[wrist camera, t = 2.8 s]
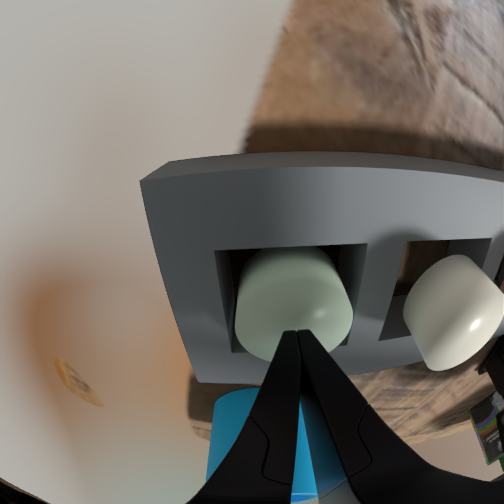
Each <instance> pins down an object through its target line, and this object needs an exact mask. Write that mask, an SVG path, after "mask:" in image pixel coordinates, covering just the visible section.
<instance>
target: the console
mask: <svg viewBox="0 0 504 504" xmlns="http://www.w3.org/2000/svg"><path fill="white" fill-rule="evenodd" d="M140 186H141V191H142V196H143V201H144V206H145V210H146V215H147V219H148V223H149V228H150V232H151V236H152V240H153V244H154V248H155V252H156V256H157V260H158V264H159V267H160V271H161V274H162V278H163V281H164V285H165V288H166V291H167V295H168V298H169V301H170V304H171V307H172V311H173V314H174V317H175V320H176V323H177V326H178V329H179V332H180V335H181V337H182V340H183V343H184V346H185V349H186V352H187V354H188V357H189V360H190V362H191V365H192V368H193V370H194V373H195V375H196V378H197V380H198V382H200V383H262V382H263V380H264V377H265V375H266V373H267V370H268V368H269V365H270V363H271V362H270V361H266V360H263V359H260V358H258V357H256V356H254V355H253V354H251V353H250V352H248V351H247V350H246V349H245V348H244V347H243V346H242V345H241V343H240V342H239V340H238V338H237V336H236V332H235V318H236V304H235V296H234V289H233V281H232V273H231V266H230V258H229V250H232V249H253V248H273V247H294V246H315V245H337V244H340V254H339V263H338V275H339V277H340V279H341V282H342V284H343V287H344V289H345V291H346V294H347V296H348V299H349V301H350V304H351V306H352V311H353V321H352V325H351V328H350V330H349V332H348V334H347V336H346V337H345V339H344V340H343V341H342V342H341V343H340V344H339V345H338V346H337V347H336V348H334V349H333V350H331V351H330V352H328V353H329V354H330V355H331V357H332V358H333V359H334V360H335V362H336V363H337V364H338V365H339V367H340V368H341V369H342V370H343V372H344V373H345V374H346V375H347V376H349V375H356V374H362V373H368V372H374V371H379V370H385V369H390V368H394V367H399V366H404V365H408V364H412V363H416V362H420V361H424V359H423V357H422V355H421V353H420V351H419V348H418V346H417V344H416V342H415V340H414V338H413V337H412V335H411V333H410V331H409V329H408V327H407V325H406V323H405V321H404V317H403V309H404V304H405V301H406V298H407V296H408V294H407V295H399V296H393V292H394V289H395V285H396V281H397V277H398V273H399V269H400V265H401V261H402V256H403V252H404V247H405V242H406V241H428V240H450V241H449V245H448V249H447V253H446V256H445V258H446V257H448V256H452V255H465V256H467V257H469V258H470V259H471V260H472V261H473V262H474V263H475V264H476V265H477V266H478V267H479V268H480V269H481V270H482V271H483V272H484V273H485V274H486V275H487V276H488V277H489V278H490V279H491V281H492V282H493V283H494V284H495V285H496V286H497V287H498V288H499V289H500V287H501V284H502V282H503V280H504V263H503V266H502V268H501V271H500V274H499V276H498V279H497V280H494V279H495V276H496V274H497V271H498V268H499V266H500V263H501V260H502V257H503V254H504V172H503V171H499V170H494V169H490V168H485V167H480V166H475V165H470V164H464V163H458V162H452V161H446V160H439V159H431V158H423V157H415V156H405V155H394V154H381V153H365V152H339V151H289V152H263V153H246V154H233V155H221V156H210V157H202V158H193V159H185V160H177V161H171V162H168V163H166V164H165V165H163V166H161V167H160V168H158V169H157V170H155V171H154V172H152V173H151V174H149V175H148V176H146V177H145V178H143V179H142V180H140ZM503 334H504V316H503V318H502V321H501V323H500V324H499V326H498V328H497V330H496V331H495V333H494V334H493V335H492V337H491V338H490V339H493V338H495V337H498V336H500V335H503ZM490 339H489V340H490Z"/></svg>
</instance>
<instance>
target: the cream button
mask: <svg viewBox="0 0 504 504" xmlns="http://www.w3.org/2000/svg"><path fill="white" fill-rule="evenodd" d="M503 316H504V294H503V293H502V292H501V291H500V289H499V288H498V287H497V286H496V285H495V284H494V283H493V282H492V281H491V279H490V278H489V277H488V276H487V275H486V274H485V273H484V272H483V271H482V270H481V269H480V268H479V267H478V266H477V265H476V264H475V263H474V262H473V261H472V260H471V259H470V258H469V257H467V256H465V255H452V256H448V257H446V258H444V259H441V260H440V261H438V262H436V263H435V264H434V265H432V266H431V267H430V268H429V269H427V270H426V271H425V272H424V273H423V274H422V275H421V276H420V278H419V279H418V280H417V281H416V283H415V284H414V285H413V287H412V288H411V290H410V292H409V294H408V296H407V298H406V301H405V304H404V309H403V317H404V321H405V323H406V325H407V327H408V329H409V331H410V333H411V335H412V337H413V338H414V340H415V342H416V344H417V346H418V348H419V351H420V353H421V355H422V357H423V359H424V361H425V363H426V365H427V367H428V368H429V369H431V370H434V371H442V370H446V369H450V368H452V367H455V366H457V365H459V364H461V363H462V362H464V361H466V360H467V359H469V358H470V357H471V356H473V355H474V354H475V353H476V352H477V351H479V350H480V349H481V348H482V347H483V346H484V345H485V344H486V343H487V341H488V340H489V339H490V338H491V337H492V335H493V334H494V333H495V331H496V330H497V328H498V326H499V324H500V323H501V321H502V318H503Z"/></svg>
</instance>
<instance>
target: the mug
mask: <svg viewBox="0 0 504 504" xmlns="http://www.w3.org/2000/svg"><path fill="white" fill-rule="evenodd" d="M259 389H260V388H247V389H242V390H238V391H233V392H230V393H228V394H226V395H224V396H222V397H220V398H219V399H218V400H217V401H216V402H215V405H214V413H213V421H212V430H211V439H210V447H209V456H208V465H207V475H206V482H207V481H208V479H209V478H210V477H211V475H212V474H213V472H214V471H215V470H216V468H217V467H218V466H219V464H220V463H221V461H222V460H223V459H224V457H225V456H226V454H227V453H228V451H229V450H230V448H231V447H232V445H233V443H234V442H235V440H236V438H237V436H238V434H239V433H240V431H241V429H242V427H243V425H244V422H245V420H246V418H247V416H249V415H248V414H249V412H250V410H251V407H252V405H253V403H254V401H255V398H256V396H257V394H258V392H259ZM315 498H318V495H317V489H316V483H315V478H314V472H313V467H312V461H311V456H310V451H309V445H308V440H307V435H306V429H305V424H304V419H303V414H302V409H301V404H300V408H299V423H298V436H297V448H296V459H295V469H294V478H293V485H292V495H291V503H294V502H300V501H307V500H310V499H315Z"/></svg>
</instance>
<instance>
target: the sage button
mask: <svg viewBox="0 0 504 504" xmlns="http://www.w3.org/2000/svg"><path fill="white" fill-rule="evenodd" d="M352 321H353V311H352V306H351V304H350V301H349V299H348V296H347V294H346V291H345V289H344V287H343V284H342V282H341V279H340V277H339V275H338V272H337V270H336V267H335V265H334V263H333V261H332V260H331V258H330V257H329V256H328V255H327V254H326V253H325V252H324V251H322V250H321V249H319V248H318V247H316V246H294V247H273V248H263V249H261V250H260V251H258V252H257V253H255V254H254V255H253V256H252V257H251V258H250V259H249V260H248V261H247V263H246V264H245V266H244V267H243V270H242V272H241V275H240V279H239V288H238V298H237V308H236V318H235V332H236V336H237V338H238V340H239V342H240V343H241V345H242V346H243V347H244V348H245V349H246V350H247V351H248V352H250V353H251V354H253V355H254V356H256V357H258V358H260V359H263V360H266V361H270V362H271V361H272V358H273V356H274V353H275V351H276V348H277V346H278V343H279V341H280V338H281V336H282V333H283V331H285V330H296V332H297V330H300V329H310V330H311V331H312V333H313V334H314V335H315V336H316V338H317V339H318V340H319V341H320V343H321V344H322V345H323V346H324V348H325V349H326V350H327V351H328V352H330V351H331V350H333V349H334V348H336V347H337V346H338V345H339V344H340V343H341V342H342V341H343V340H344V339H345V337H346V336H347V334H348V332H349V330H350V328H351V325H352Z"/></svg>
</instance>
